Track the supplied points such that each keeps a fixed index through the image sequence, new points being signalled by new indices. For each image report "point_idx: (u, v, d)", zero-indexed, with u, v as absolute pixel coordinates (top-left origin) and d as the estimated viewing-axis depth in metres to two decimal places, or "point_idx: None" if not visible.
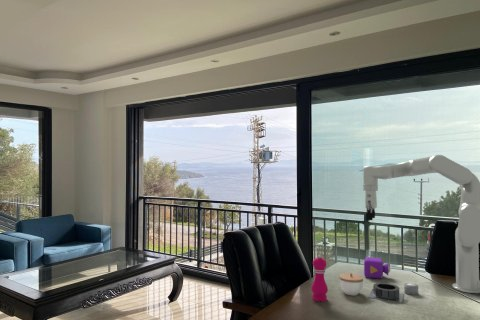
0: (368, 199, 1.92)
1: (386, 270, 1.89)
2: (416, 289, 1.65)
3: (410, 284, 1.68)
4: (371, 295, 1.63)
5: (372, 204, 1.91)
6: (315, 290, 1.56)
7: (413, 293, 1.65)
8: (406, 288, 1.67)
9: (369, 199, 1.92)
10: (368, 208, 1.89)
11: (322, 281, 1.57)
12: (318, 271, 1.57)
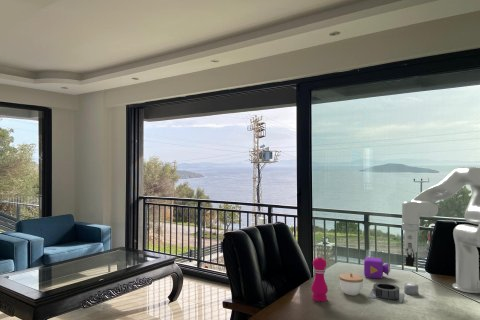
0: (408, 241, 1.64)
1: (386, 270, 1.89)
2: (416, 289, 1.65)
3: (410, 284, 1.68)
4: (371, 295, 1.63)
5: (413, 247, 1.63)
6: (315, 290, 1.56)
7: (413, 293, 1.65)
8: (406, 288, 1.67)
9: (410, 241, 1.64)
10: (409, 252, 1.61)
11: (322, 281, 1.57)
12: (318, 271, 1.57)
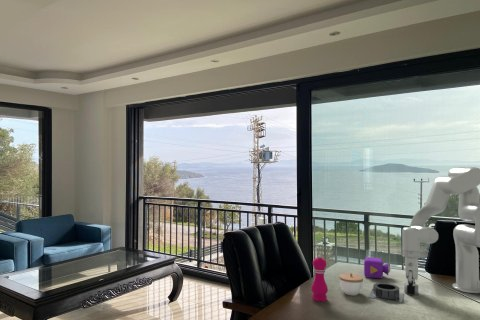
0: (409, 268, 1.64)
1: (386, 270, 1.89)
2: (416, 289, 1.65)
3: None
4: (371, 295, 1.63)
5: (414, 275, 1.63)
6: (315, 290, 1.56)
7: None
8: (406, 288, 1.67)
9: (410, 268, 1.63)
10: (410, 282, 1.62)
11: (322, 281, 1.57)
12: (318, 271, 1.57)
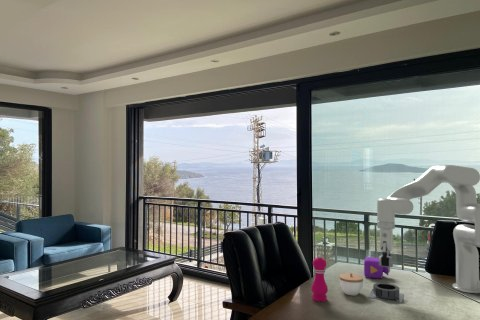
0: (383, 239, 1.60)
1: (386, 270, 1.89)
2: (390, 261, 1.61)
3: None
4: (371, 295, 1.63)
5: (388, 246, 1.59)
6: (315, 290, 1.56)
7: None
8: (380, 260, 1.63)
9: (385, 239, 1.60)
10: (384, 253, 1.58)
11: (322, 281, 1.57)
12: (318, 271, 1.57)
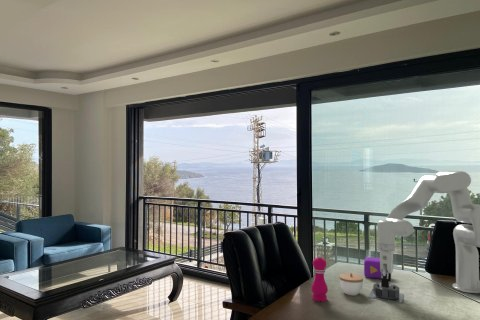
0: (383, 262, 1.60)
1: None
2: (391, 289, 1.61)
3: None
4: (371, 295, 1.63)
5: (388, 268, 1.59)
6: (315, 290, 1.56)
7: None
8: None
9: (385, 262, 1.60)
10: (384, 274, 1.57)
11: (322, 281, 1.57)
12: (318, 271, 1.57)
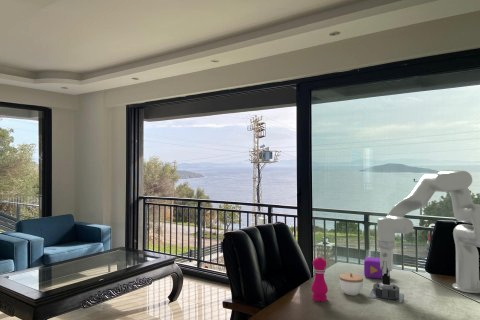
0: (383, 259, 1.60)
1: None
2: (391, 289, 1.61)
3: None
4: (371, 295, 1.63)
5: (388, 265, 1.59)
6: (315, 290, 1.56)
7: None
8: None
9: (385, 259, 1.60)
10: (385, 273, 1.61)
11: (322, 281, 1.57)
12: (318, 271, 1.57)
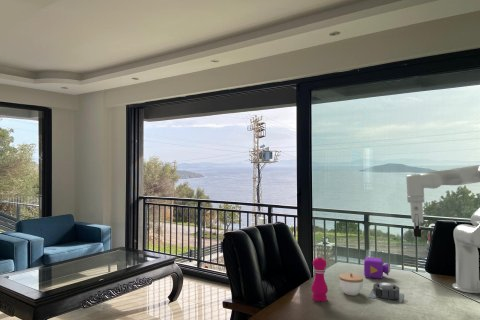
0: (415, 212, 1.70)
1: (386, 270, 1.89)
2: (391, 289, 1.61)
3: (385, 284, 1.64)
4: (371, 295, 1.63)
5: (420, 218, 1.69)
6: (315, 290, 1.56)
7: None
8: None
9: (416, 212, 1.70)
10: (417, 226, 1.71)
11: (322, 281, 1.57)
12: (318, 271, 1.57)
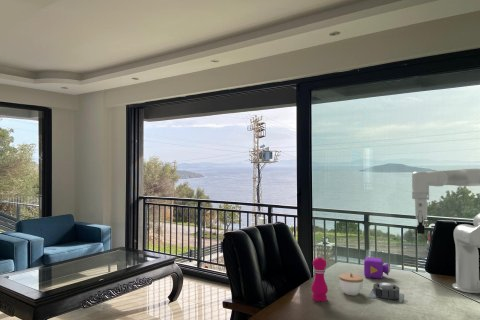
0: (419, 209, 1.71)
1: (386, 270, 1.89)
2: (391, 289, 1.61)
3: (385, 284, 1.64)
4: (371, 295, 1.63)
5: (424, 214, 1.70)
6: (315, 290, 1.56)
7: None
8: None
9: (420, 209, 1.71)
10: (420, 222, 1.72)
11: (322, 281, 1.57)
12: (318, 271, 1.57)
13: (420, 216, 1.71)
